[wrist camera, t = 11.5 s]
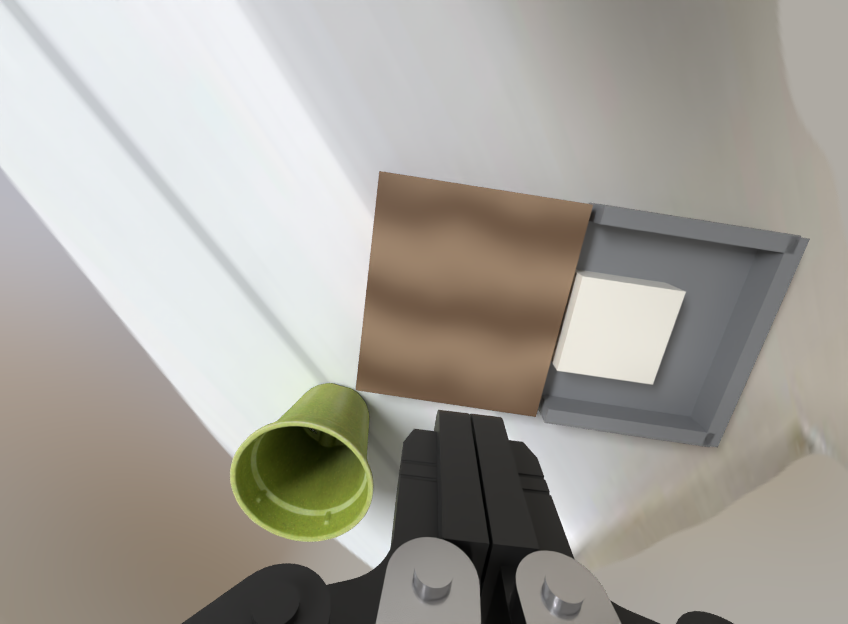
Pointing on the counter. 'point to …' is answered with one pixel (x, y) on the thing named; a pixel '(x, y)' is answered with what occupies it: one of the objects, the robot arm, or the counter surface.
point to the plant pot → (308, 467)
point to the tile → (616, 326)
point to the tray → (681, 323)
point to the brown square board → (466, 292)
